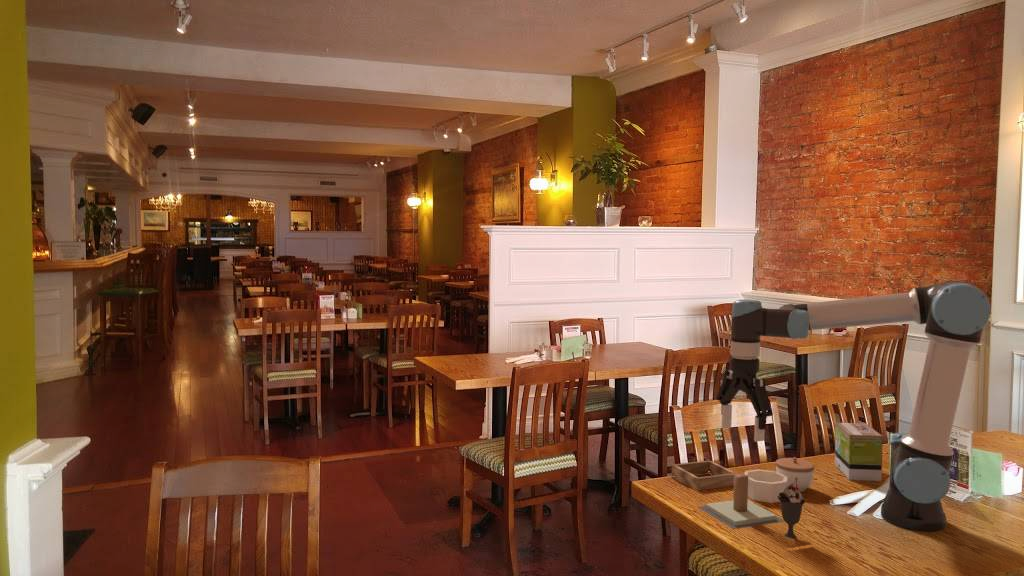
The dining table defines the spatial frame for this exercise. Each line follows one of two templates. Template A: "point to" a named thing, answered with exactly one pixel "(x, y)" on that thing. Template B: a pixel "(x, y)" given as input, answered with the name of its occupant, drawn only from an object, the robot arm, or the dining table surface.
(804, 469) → the lidded jar
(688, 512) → the dining table surface
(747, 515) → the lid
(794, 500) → the sundae
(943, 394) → the robot arm
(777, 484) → the bowl
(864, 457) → the tea box
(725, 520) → the mat
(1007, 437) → the dining table surface
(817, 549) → the dining table surface
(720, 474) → the tray
